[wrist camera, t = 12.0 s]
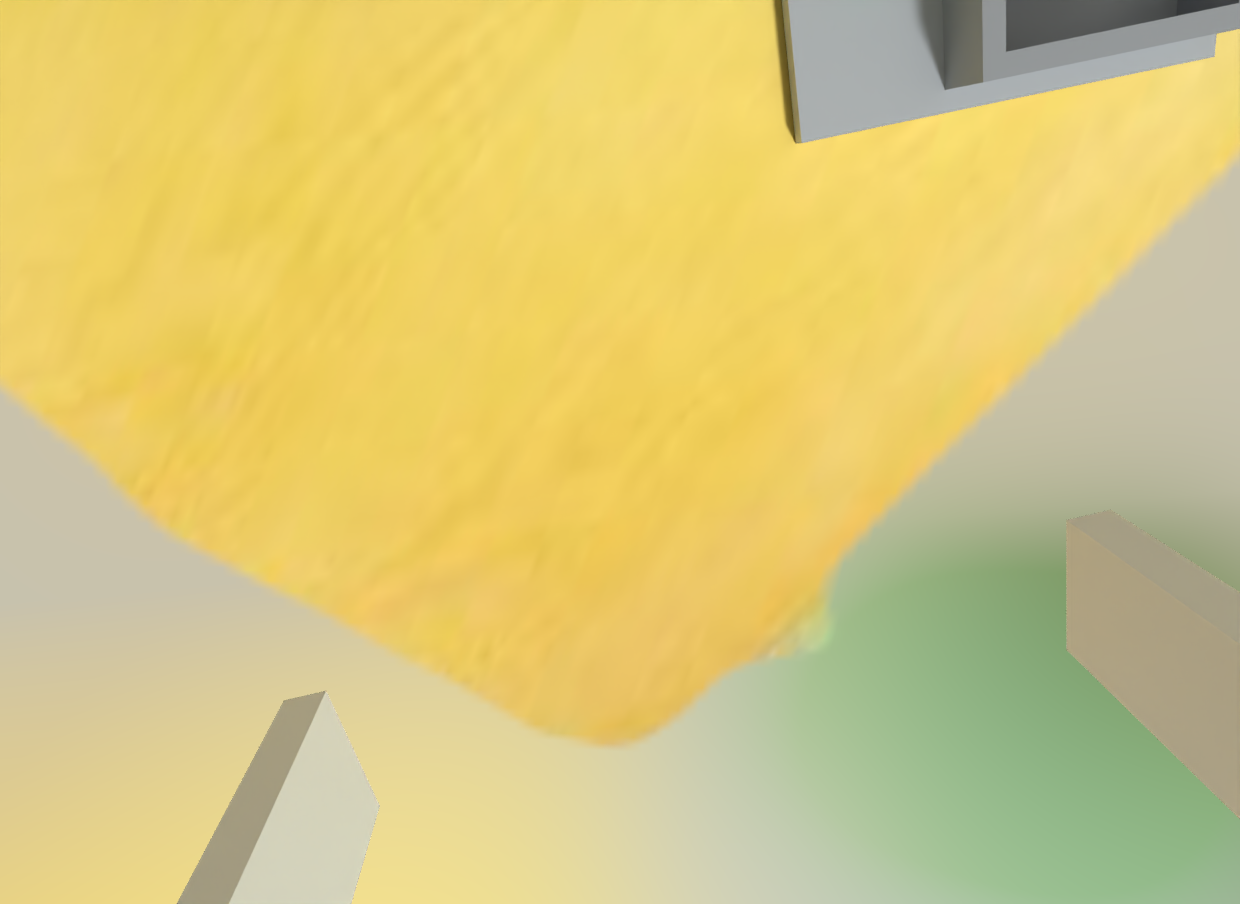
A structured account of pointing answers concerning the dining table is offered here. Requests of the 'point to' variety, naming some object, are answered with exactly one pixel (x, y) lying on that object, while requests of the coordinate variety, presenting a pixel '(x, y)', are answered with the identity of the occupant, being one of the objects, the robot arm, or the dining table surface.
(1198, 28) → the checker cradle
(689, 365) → the dining table surface
